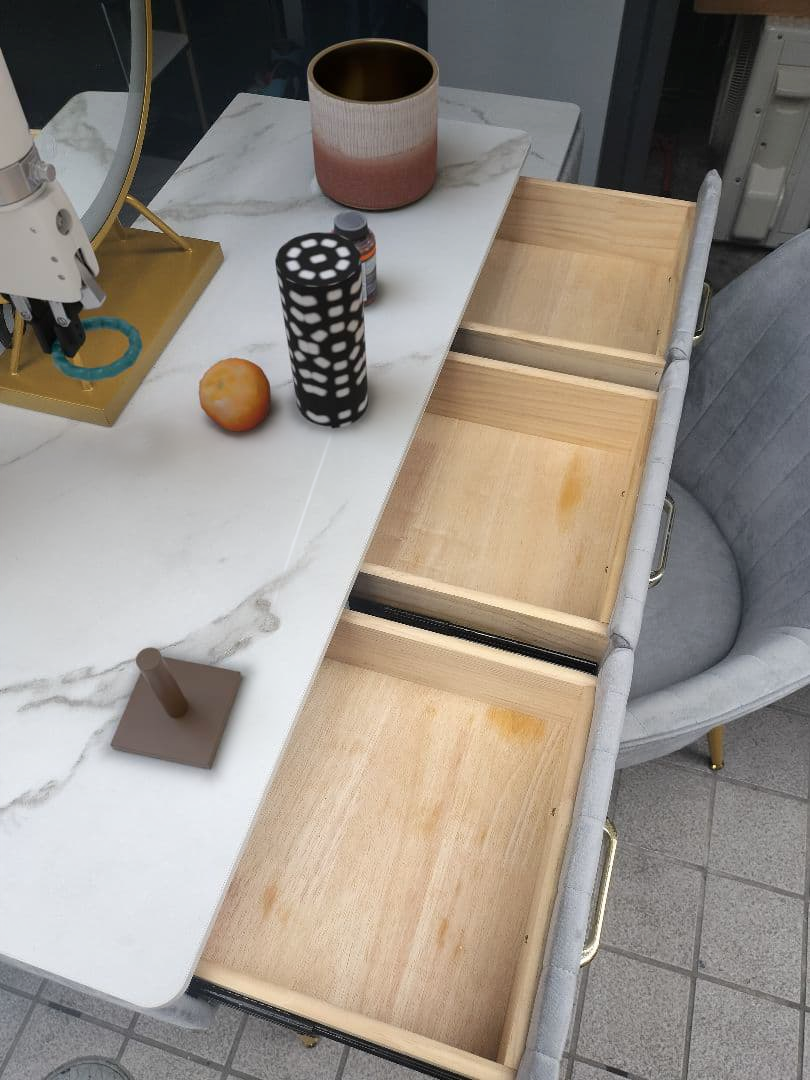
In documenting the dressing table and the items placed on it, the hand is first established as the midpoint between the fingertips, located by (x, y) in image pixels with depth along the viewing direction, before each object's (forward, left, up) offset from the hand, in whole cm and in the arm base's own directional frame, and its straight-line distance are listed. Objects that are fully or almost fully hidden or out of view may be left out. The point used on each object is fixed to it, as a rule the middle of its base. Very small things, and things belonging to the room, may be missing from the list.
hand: (65, 345), depth 80 cm
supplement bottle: (+21, +30, -15) cm, 40 cm away
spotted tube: (+23, +11, -15) cm, 30 cm away
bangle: (+3, 0, 0) cm, 3 cm away
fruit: (+13, +7, -15) cm, 21 cm away
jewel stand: (+19, -29, -15) cm, 37 cm away
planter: (+18, +56, -15) cm, 61 cm away
